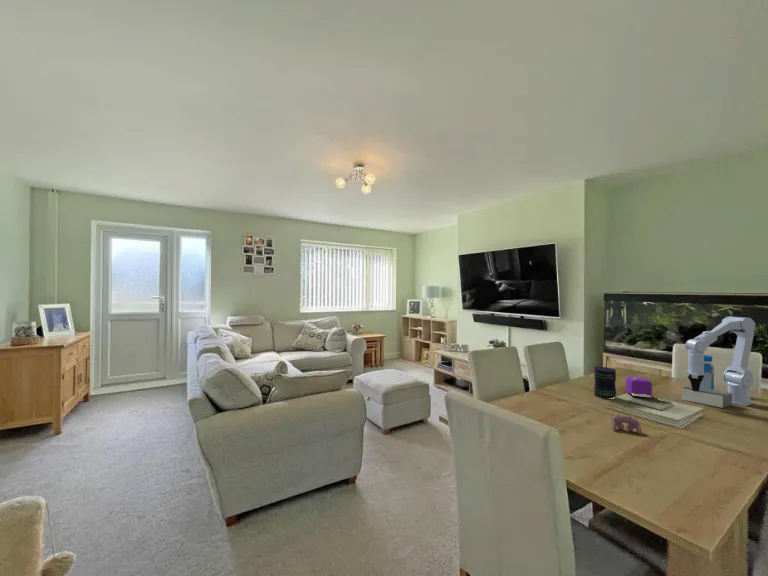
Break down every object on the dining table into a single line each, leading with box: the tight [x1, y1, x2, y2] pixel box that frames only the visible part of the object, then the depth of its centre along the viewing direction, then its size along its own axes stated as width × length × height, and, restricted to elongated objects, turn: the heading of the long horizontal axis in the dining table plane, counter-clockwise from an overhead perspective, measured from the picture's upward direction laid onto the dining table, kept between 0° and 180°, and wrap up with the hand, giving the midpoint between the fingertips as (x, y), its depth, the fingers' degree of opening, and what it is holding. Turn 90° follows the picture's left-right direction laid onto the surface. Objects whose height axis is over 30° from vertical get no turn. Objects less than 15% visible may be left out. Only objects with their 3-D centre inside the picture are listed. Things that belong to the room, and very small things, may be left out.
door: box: [681, 388, 725, 409], centre depth 167 cm, size 2×16×10 cm, turn 36°
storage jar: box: [593, 366, 617, 399], centre depth 178 cm, size 10×10×15 cm
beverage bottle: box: [700, 354, 715, 390], centre depth 191 cm, size 8×8×20 cm
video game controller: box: [610, 414, 642, 436], centre depth 135 cm, size 10×5×7 cm, turn 65°
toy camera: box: [625, 376, 653, 396], centre depth 181 cm, size 11×14×10 cm
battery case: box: [682, 384, 733, 409], centre depth 171 cm, size 9×16×6 cm, turn 26°
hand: (695, 389), depth 168 cm, fingers open, 4 cm apart
